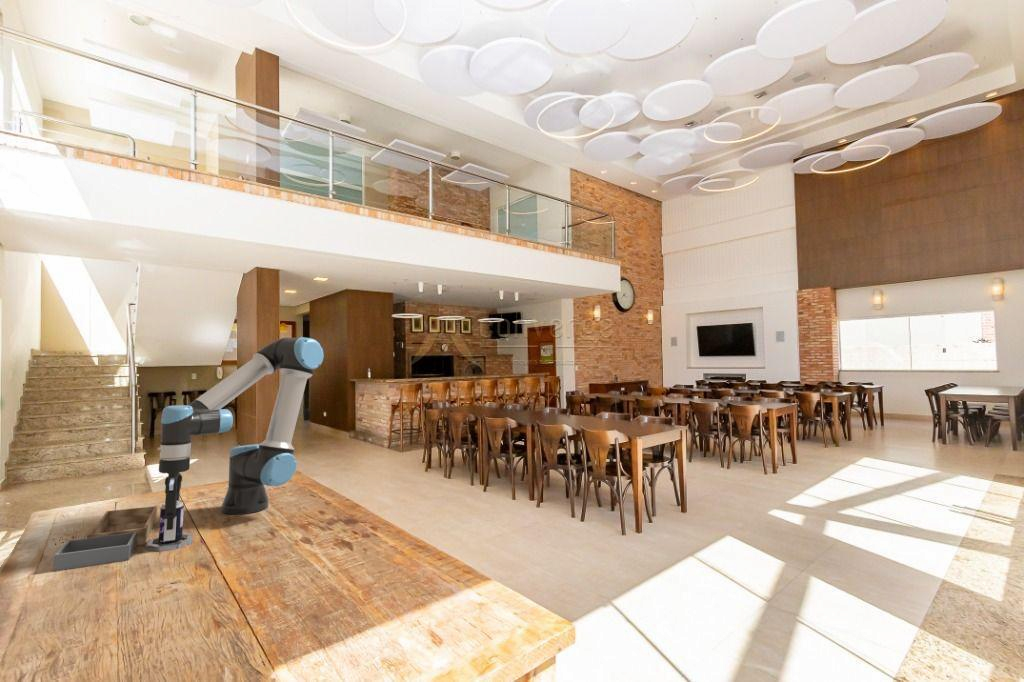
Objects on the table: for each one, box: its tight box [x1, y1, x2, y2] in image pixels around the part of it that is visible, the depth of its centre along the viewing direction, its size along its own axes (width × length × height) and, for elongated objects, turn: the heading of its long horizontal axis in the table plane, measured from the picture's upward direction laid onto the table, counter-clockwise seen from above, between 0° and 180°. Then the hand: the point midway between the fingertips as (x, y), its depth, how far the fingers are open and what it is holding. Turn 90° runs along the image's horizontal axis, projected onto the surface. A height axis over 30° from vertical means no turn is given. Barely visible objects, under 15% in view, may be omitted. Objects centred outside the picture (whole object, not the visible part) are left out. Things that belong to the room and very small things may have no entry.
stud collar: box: [145, 531, 194, 552], centre depth 142 cm, size 11×11×1 cm
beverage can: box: [158, 499, 185, 545], centre depth 142 cm, size 6×6×12 cm
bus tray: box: [53, 532, 137, 572], centre depth 131 cm, size 15×11×4 cm
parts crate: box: [86, 505, 158, 546], centre depth 148 cm, size 13×24×4 cm, turn 30°
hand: (170, 536), depth 142 cm, fingers closed on beverage can, 6 cm apart
